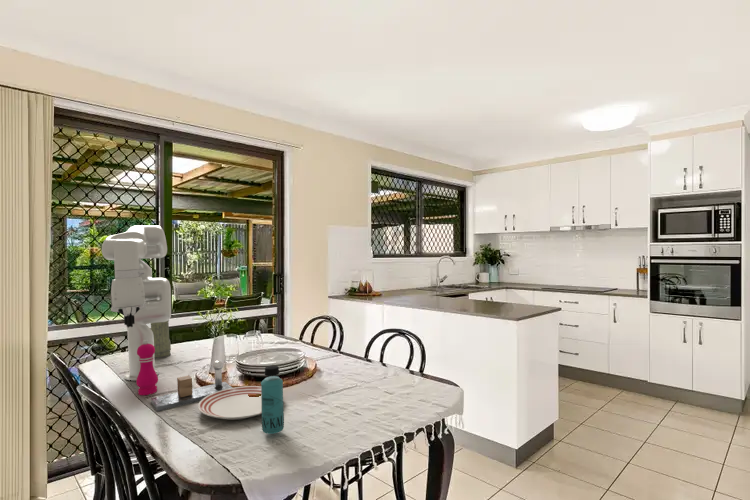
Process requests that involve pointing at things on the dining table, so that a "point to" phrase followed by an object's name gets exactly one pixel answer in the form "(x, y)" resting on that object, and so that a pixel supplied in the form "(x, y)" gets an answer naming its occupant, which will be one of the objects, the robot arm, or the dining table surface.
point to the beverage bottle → (272, 401)
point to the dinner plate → (232, 403)
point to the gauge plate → (198, 393)
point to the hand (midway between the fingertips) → (129, 326)
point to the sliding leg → (184, 386)
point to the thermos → (161, 338)
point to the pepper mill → (146, 370)
